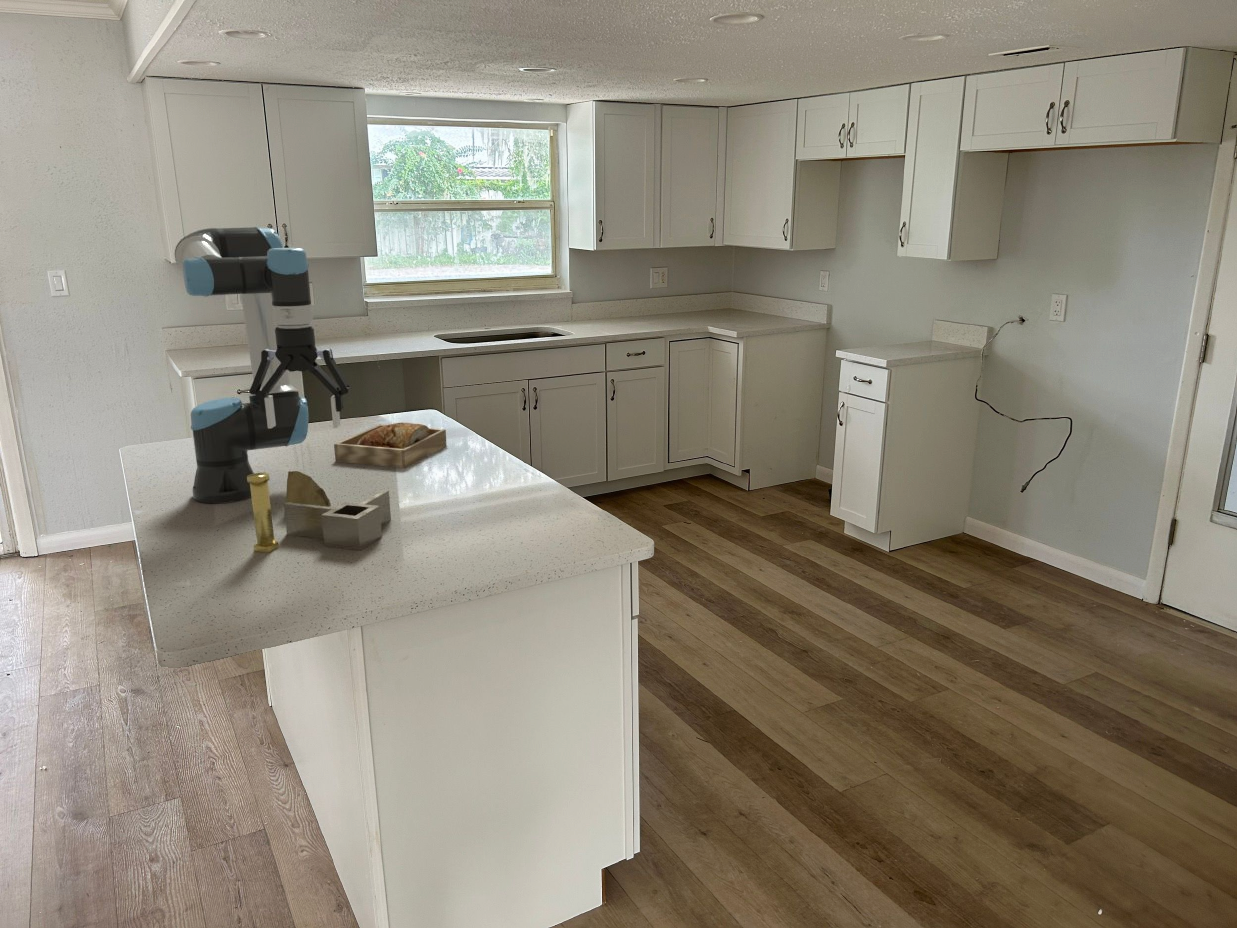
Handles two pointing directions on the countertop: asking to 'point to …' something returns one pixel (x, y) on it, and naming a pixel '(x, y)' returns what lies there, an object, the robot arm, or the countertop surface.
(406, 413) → the countertop surface
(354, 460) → the bread crate
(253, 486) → the hinge pin
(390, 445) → the bread
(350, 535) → the hinge
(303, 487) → the rock
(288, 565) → the countertop surface
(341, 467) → the countertop surface
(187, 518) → the countertop surface
